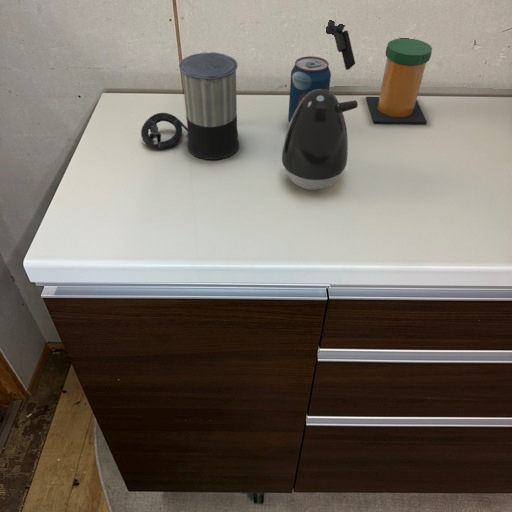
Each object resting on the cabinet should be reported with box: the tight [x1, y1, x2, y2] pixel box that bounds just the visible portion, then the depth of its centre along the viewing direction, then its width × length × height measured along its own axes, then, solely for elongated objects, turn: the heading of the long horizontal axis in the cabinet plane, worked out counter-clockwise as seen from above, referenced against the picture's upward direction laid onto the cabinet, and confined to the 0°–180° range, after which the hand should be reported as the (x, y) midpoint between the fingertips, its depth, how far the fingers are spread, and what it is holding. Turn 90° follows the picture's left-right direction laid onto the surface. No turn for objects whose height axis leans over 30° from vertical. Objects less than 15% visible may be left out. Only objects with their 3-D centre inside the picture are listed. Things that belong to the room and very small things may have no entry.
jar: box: [377, 57, 427, 117], centre depth 89 cm, size 7×7×12 cm
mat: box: [365, 96, 428, 126], centre depth 93 cm, size 10×10×1 cm
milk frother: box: [140, 51, 240, 160], centre depth 79 cm, size 14×16×15 cm
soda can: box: [287, 55, 332, 124], centre depth 85 cm, size 7×7×12 cm
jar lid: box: [385, 37, 433, 65], centre depth 85 cm, size 8×8×2 cm
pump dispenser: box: [281, 89, 359, 190], centre depth 72 cm, size 10×10×15 cm
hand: (380, 62), depth 94 cm, fingers open, 13 cm apart
